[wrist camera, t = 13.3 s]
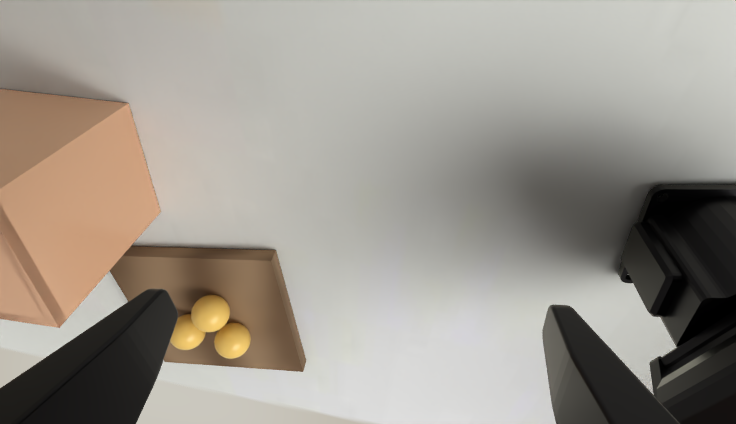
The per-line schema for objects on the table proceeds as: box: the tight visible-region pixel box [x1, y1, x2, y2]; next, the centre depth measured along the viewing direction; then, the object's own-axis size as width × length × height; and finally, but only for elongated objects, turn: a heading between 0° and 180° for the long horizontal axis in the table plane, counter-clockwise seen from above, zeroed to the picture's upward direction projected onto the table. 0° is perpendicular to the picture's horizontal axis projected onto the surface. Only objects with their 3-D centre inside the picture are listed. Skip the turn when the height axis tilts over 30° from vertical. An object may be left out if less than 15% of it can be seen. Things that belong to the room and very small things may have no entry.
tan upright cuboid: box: [0, 89, 161, 328], centre depth 21 cm, size 7×7×9 cm
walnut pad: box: [110, 246, 306, 372], centre depth 31 cm, size 12×12×1 cm
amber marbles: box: [170, 295, 251, 359], centre depth 30 cm, size 6×6×2 cm
